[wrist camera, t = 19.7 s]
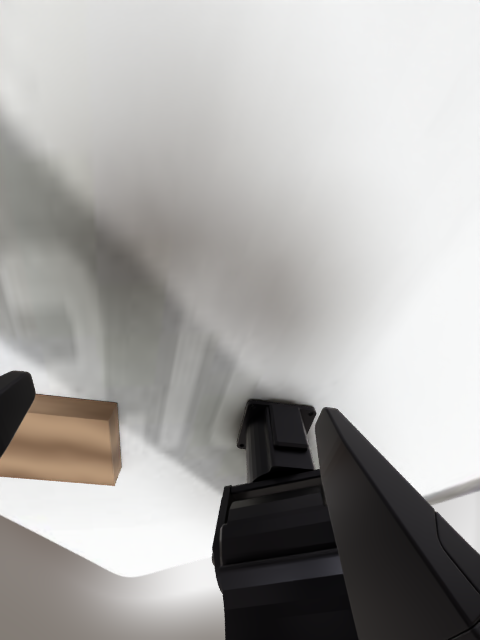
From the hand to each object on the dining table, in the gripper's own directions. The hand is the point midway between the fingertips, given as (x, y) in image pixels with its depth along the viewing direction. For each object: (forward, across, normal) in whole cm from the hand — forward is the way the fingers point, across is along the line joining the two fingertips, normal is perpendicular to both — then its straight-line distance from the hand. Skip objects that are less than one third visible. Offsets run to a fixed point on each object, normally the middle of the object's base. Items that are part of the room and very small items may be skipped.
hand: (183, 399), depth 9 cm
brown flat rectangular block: (+12, +17, +19) cm, 28 cm away
